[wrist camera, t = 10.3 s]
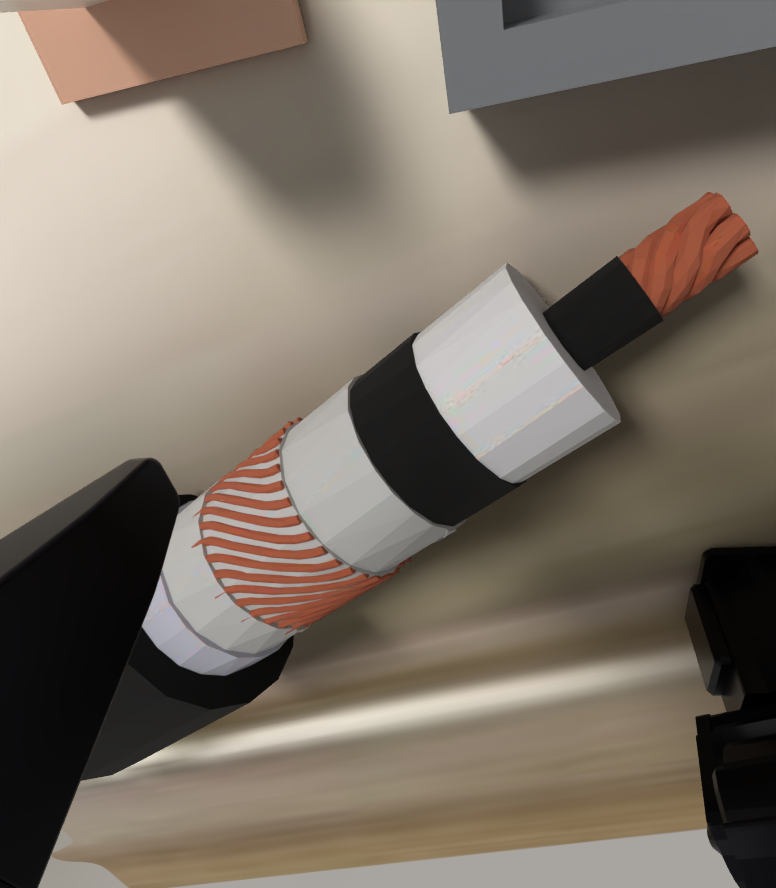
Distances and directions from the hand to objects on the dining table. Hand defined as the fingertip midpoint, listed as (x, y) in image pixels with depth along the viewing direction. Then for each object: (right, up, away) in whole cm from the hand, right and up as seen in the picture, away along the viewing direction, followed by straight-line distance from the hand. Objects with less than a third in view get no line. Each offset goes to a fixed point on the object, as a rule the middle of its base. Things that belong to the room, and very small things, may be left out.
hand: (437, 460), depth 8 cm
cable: (-3, 0, +18) cm, 18 cm away
